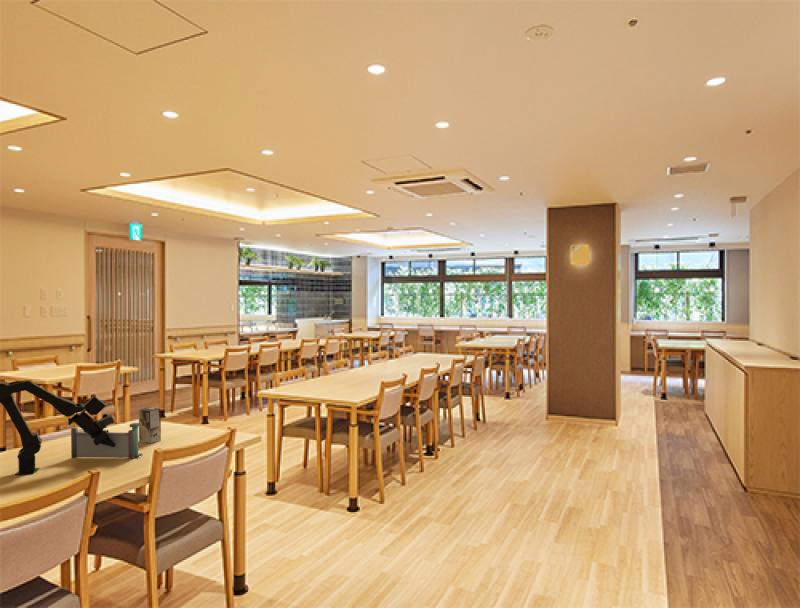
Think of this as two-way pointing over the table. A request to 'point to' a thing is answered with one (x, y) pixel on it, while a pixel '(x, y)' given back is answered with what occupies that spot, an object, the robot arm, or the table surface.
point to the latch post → (136, 438)
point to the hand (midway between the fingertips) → (114, 446)
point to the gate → (86, 447)
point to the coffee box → (150, 425)
